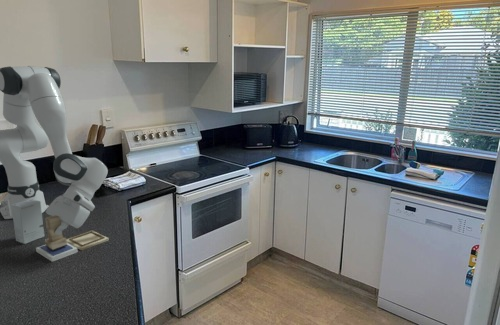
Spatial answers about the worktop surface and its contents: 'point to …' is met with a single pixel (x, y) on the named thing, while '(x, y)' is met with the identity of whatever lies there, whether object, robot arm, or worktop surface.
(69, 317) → the worktop surface
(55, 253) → the ink pad
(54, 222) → the stamp
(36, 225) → the skincare box
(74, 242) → the box board
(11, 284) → the worktop surface
